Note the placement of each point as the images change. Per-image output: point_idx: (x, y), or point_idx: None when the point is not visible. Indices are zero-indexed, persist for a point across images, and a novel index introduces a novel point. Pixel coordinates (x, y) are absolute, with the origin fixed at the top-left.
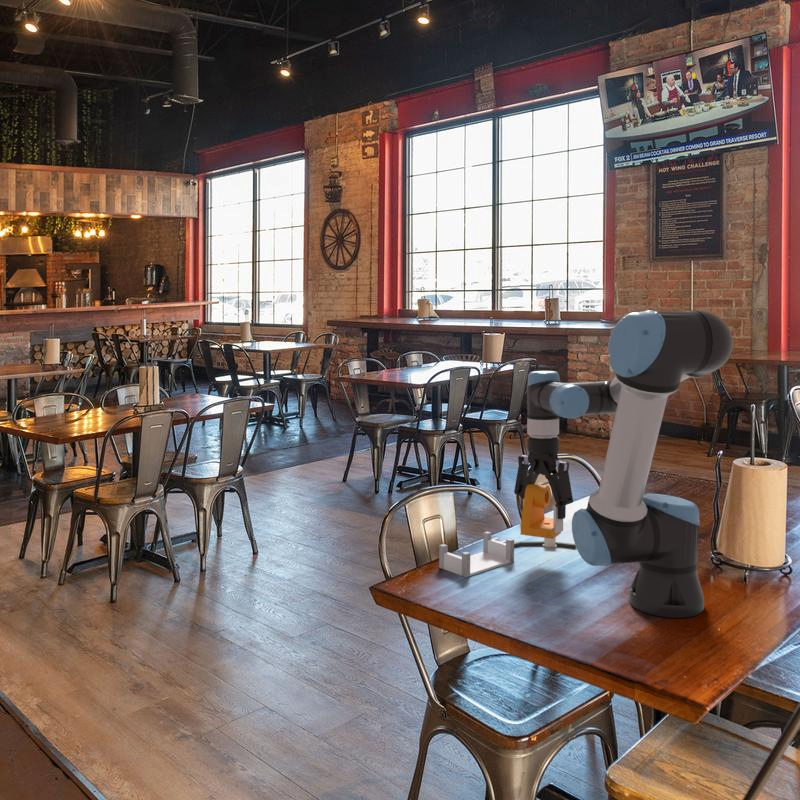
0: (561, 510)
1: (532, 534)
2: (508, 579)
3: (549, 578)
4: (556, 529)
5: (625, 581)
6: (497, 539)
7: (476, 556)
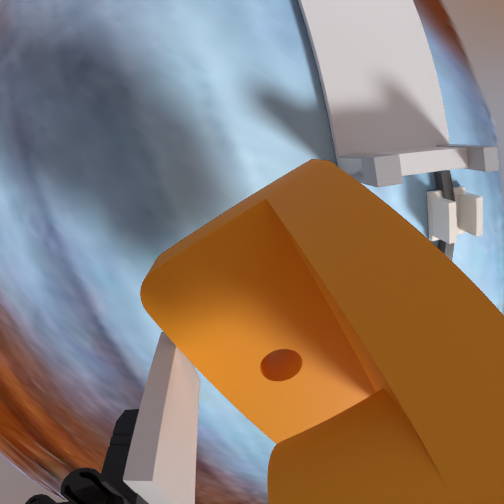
0: (107, 463)
1: (238, 205)
2: (192, 47)
3: (127, 183)
4: (158, 349)
5: (48, 354)
6: (474, 225)
7: (426, 91)
